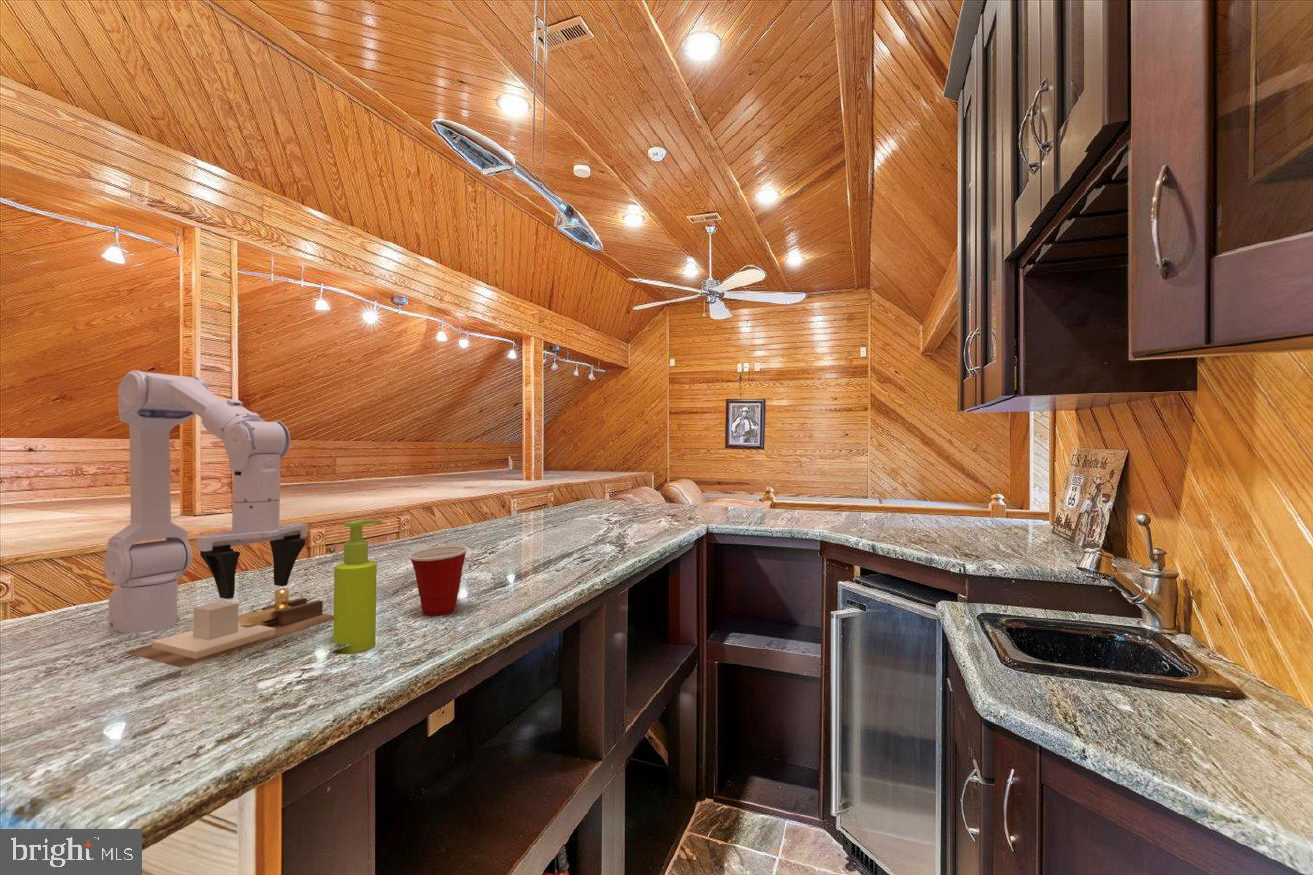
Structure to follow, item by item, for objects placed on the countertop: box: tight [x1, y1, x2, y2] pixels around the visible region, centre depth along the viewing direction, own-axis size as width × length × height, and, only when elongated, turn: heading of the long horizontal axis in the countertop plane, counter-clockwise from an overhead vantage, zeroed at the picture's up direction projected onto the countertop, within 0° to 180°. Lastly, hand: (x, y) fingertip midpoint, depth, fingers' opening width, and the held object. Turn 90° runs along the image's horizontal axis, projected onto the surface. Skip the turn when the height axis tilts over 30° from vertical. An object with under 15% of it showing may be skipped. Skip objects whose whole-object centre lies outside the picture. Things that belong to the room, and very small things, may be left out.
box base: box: [124, 597, 334, 669], centre depth 88 cm, size 14×24×4 cm, turn 158°
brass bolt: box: [238, 587, 291, 626], centre depth 91 cm, size 2×7×4 cm, turn 158°
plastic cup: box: [407, 544, 469, 617], centre depth 105 cm, size 11×11×12 cm
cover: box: [151, 600, 275, 659], centre depth 84 cm, size 11×11×6 cm
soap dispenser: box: [332, 518, 383, 655], centre depth 87 cm, size 6×7×20 cm
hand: (254, 591), depth 81 cm, fingers open, 7 cm apart
